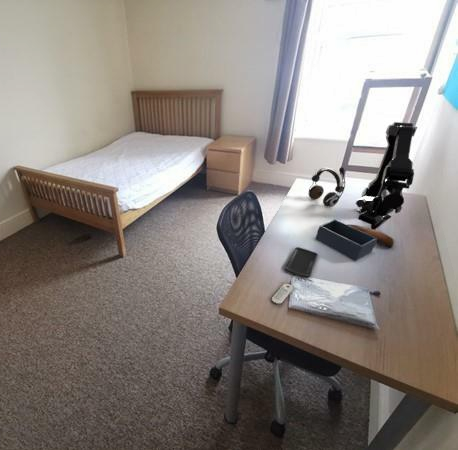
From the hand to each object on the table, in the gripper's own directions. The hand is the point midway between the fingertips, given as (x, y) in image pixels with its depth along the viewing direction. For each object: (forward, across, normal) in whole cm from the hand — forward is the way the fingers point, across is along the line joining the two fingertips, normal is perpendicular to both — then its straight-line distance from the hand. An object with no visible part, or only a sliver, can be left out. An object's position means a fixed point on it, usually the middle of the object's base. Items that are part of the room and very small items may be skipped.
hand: (372, 230), depth 113 cm
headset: (+2, -8, -28) cm, 29 cm away
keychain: (-1, +58, +4) cm, 58 cm away
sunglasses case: (+2, +4, 0) cm, 5 cm away
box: (+1, +18, -1) cm, 18 cm away
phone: (0, +40, -2) cm, 40 cm away
